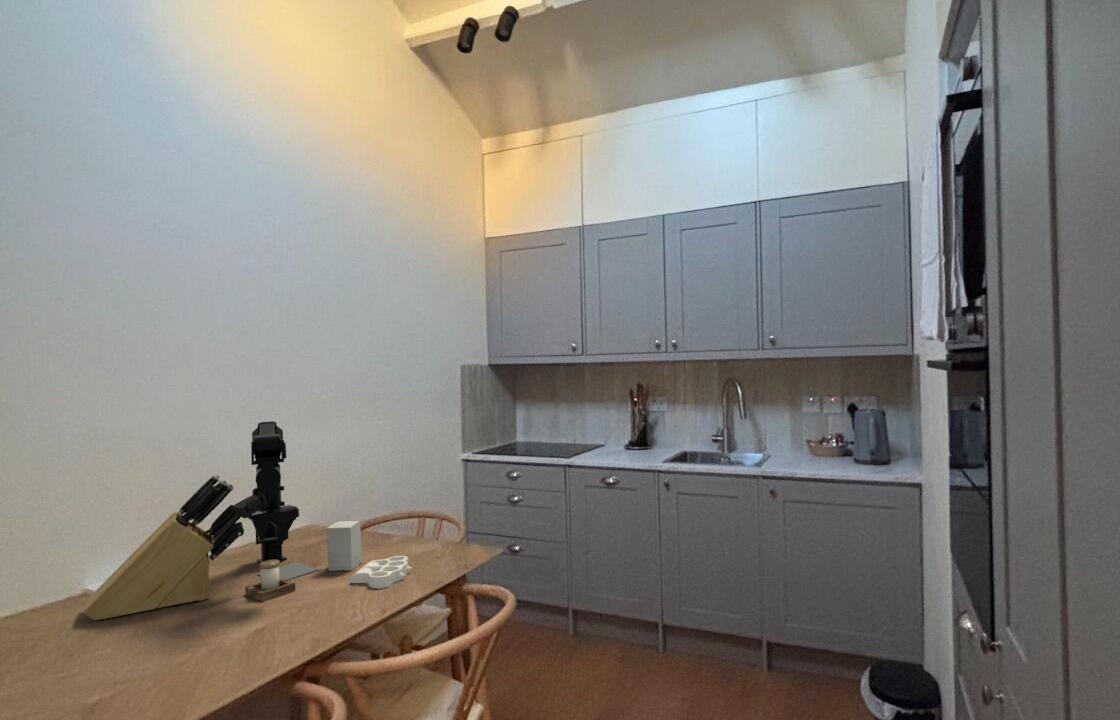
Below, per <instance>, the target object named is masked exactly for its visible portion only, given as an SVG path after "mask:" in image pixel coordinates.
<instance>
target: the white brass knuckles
mask: <svg viewBox="0 0 1120 720" xmlns="http://www.w3.org/2000/svg"><path fill="white" fill-rule="evenodd" d="M413 569H414V568H413V567H412V566H409V557H408V556H406V555H396V556H395V555H394V556H390V557H388V558H384V559H373V560H370V561H368V562H367V563H366V564H365V565H363V567H361V568H358V570H357V571H356V572H355V573H353V574H352V575H350V576H349V577H350V578H349V582H350V583H351V584H353V583H367V584H366V585H368V587H369V588H370V587H371V588H370V589H375V588H377V589H385V588H389V587H391V586H392V584H394V583H397V582H400V581H402V580H403V579H404V577H406V576H408V572H409V571H412V570H413Z"/></svg>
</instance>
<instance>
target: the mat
mask: <svg viewBox="0 0 1120 720" xmlns="http://www.w3.org/2000/svg"><path fill="white" fill-rule="evenodd" d="M318 571H320V569H319V568H316V567H313V566H310V565H307V564H303V563H301V562H298V561H297V562H296V561H295V562H293V563H289V564H286V565H283V566H279V577H280V578H282V579H285V580H288V581H291V580H293V579H296V578H300V577H302V576H305V575H309V574H311V573H315V572H318ZM256 575H257V576H259V577H261V572H259V573H257V574H256Z"/></svg>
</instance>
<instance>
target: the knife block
mask: <svg viewBox="0 0 1120 720" xmlns="http://www.w3.org/2000/svg"><path fill="white" fill-rule="evenodd" d="M220 479H221V477H220V476H219V474H214V475H212V476H211V477H210V478H209V479H208V480H207V481H206V482H204V484H203V485H201V486H200V488H199V489H198V490H196V491H195V492H194V493H193V494H192V495H191V496H190V498H188V500H187V501H186V502H185V503H183V504H182V506H181V507H180V508H179V510H178V512H177V511H173V512H172V513H171V514H170V515H169V516H168V517H167V518H166V520H164V522H162V523H161V524H160V526H158V527H157V529H156V530H154V532H152V533H151V535H150V536H148V537H147V538H146V540H145V541H143V542H142V544H141V545H139V546H138V548H137V549H135V550H134V551H133V552H132V553H131V554H130V555H129V556H128V558H127V559H125V560H124V561H123V563H122V564H121V565H119V566H118V568H117V569H116V570H114V571H113V573H112V574H111V575H109V577H107V578H106V580H104V582H103V583H102V584H101V585H100V586H99V587H98V588H96V590H95V591H94V592H93V593H92V594H91V595H90V596H89V597H88V599H87V602H86V605H85V606H84V609H83V611H82V614H83V615H85V616H86V617H88V618H90V619H91V620H93V621H98V620H99V621H100V620H101V619H105V620H107V619H106V618H108V619H110V618H116V617H120V616H121V617H122V616H126V615H131V614H136V613H141V612H145V611H150V610H151V611H152V610H155V609H160V608H165V607H166V608H167V607H170V606H175V605H180V604H181V605H182V604H186V603H193V602H195V601H196V602H197V601H199V602H200V601H201V602H202V601H205V600H206V599H210V595H209V594H210V593H209V592H210V591H209V590H210V588H209V587H210V585H209V582H210V581H209V580H210V579H209V577H210V575H209V573H210V572H209V570H210V568H209V566H210V563H211V561H214V560H215V559H216V558H217V557H219V556H220V555H221V554H223V553H224V552H225V551H226V549H228V548H230V546H231V545H232V544H233V543H234V542H235V541H236V540H238V538H240V537H242V536H243V535H244V533H245V529H244V526H243V522H242V521H239V520H240V518H242V517H238V516H237V514H236V511H235V509H234V507H233V506H234V505H235V504H230V505H229V506H227V508H225V510H223V511H222V513H221V514H220V515H219V516H218V517H217V518H216V519H215V520H214V521H213V522H212V524H211V525H210V528H209V529H207V530H204V529H203V528H201V527H200V526H198V525H199V524H201V523H202V522H203V521H204V520H205V519H206V518H207V517H208V516H209V515H210V514H211V513H212V512H213V511H214V510H215V509H216V508H217V507H218V506H219V505H220V504H221V503H222V502H223V501H224V500H225V499H226V497H227V496H228V495H229V494H230V493H231V492H232V491H234V486H233V484H231V483H227V481H226V480H224V479H222V480H220ZM238 521H239V522H238ZM209 552H210V555H209ZM209 559H210V560H211V561H209Z"/></svg>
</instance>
